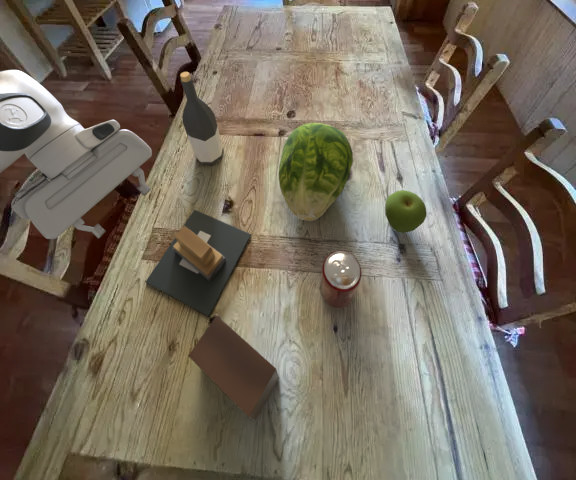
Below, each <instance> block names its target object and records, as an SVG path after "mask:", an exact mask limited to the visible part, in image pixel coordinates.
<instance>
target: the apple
mask: <svg viewBox="0 0 576 480" xmlns="http://www.w3.org/2000/svg"><path fill="white" fill-rule="evenodd" d="M384 209H385V217H386V220H387V222H388V225H389V227H391V229H392V230H393V231H395V232H397V233H399V234H407V233H410V232H414V231H415V230H416V229H418V228H419V227H420V226H421V225H422V224H424V223H425V220H426V218H427V207H426V204H425V202H424V201H423V199H422V198H421V197H420V196H419V195H418V194H416V193H415V192H413V191H410V190H405V189H402V190H396V191H394V192H393V193H392V194H390V195H388V196H387V199H386V200H385V208H384Z"/></svg>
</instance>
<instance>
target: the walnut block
mask: <svg viewBox="0 0 576 480" xmlns="http://www.w3.org/2000/svg"><path fill="white" fill-rule="evenodd" d="M187 356H188V358H189V359H190V360H191V361H193V362H194V363H195V365H196V366H197V367H198V368H199V369H200V370H202V372H203V373H204V374H205V375H206V376H207V377H208V378H209V379H210V380H211V381H212V382H213V383H214V384H215V385H216V386H217V388H219V389H220V390H221V391H222V392H223V393H224V394H225V395H226V396H227V397H228V398H229V399H230V400H231V401H232V402H233V403H234V404H235V405H236V406H237V407H238V409H240V410H241V411H242V412H243V413H244V414H245V416H247V417H248V418H249V419H252V420H253V421H256V422H257V420H258V419H259V416H260V414H261V413H262V411H263V409H264V407H265V405H266V403H268V400H269V398H270V396H271V395H272V393H273V391H274V389H275V387H276V386H277V384H278V382H279V380H280V375H279V373H278V369H277V368H276V367H275V365H273V364H272V363H270V361H268V359H266V358H265V357H264V356H263V355H262V354H261V353H260V352H258V351H257V350H256V349H255V348H254V347H253V346H251V345H250V343H248V341H246V340H245V339H244V338H243V337H242V336H240V334H238V333H237V332H236V331H235V330H234V329H233V328H232V327H231V326H229V325H228V324H227V323H226V322H225V321H224V320H223V319H221V318H220V317H219V316H218V315H216V316H215V318H214V319H213V320H212V322H211V323H210V325H209V326H208V327H207V328H206V330H205V331H204V333H203V334H202V336H201V337H200V338H199V339H198V341H197V342H196V344H195V345H194V347H193V348H192V349H191V351H190V352H189V354H188V355H187Z"/></svg>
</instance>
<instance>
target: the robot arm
mask: <svg viewBox="0 0 576 480" xmlns="http://www.w3.org/2000/svg"><path fill="white" fill-rule="evenodd" d="M23 155H24V156H25V157H26V158H27V160H29V161H30V163H32V164H33V165H34V167H35V168H37V169H38V170H39V172H40V173H41V174H39V176H37V177H36V178H35V179H34V178H33V180H32V181H31V182H30V183H28V185H26V186H24V187H23V188H21V189H19V190H18V191H17V192H15V194H14V198H13V199H12V201H11V204H10V207H11V210H12V211H13V212H14V213H15V214H16V215H17V216H18V217H19V218H21V219H22V220H30V222H31V223H32V224H33V226H34V228H36V229H37V231H38V232H39V233H40V234H41V235H42V236H43V238H45V239H47V240H56V239H57V238H59V237H60V236H61V235H62V234H64V233H65V231H67V230H68V229H69V228H70V227H72V226H73V227H74V228H75V229H76V230H78V231H83V232H89V233H92V234H93V235H94V236H95V237H96V238H97V239H100V238H101V237H102V236H103V235H104V234H105V233H106V232H107V231H106V230H105V229H104V228H103V227H102V226H101V225H100V224H99V223H97V224H95V225H94V226H90V225H85V221H84V220H83V218H82V217H83V216H85V215H86V213H87V212H89V211H90V210H91V209H92V208H93V207H95V206H96V205H97V204H98V203H99V202H100V201H102V200H103V199H104V198H106V196H107V195H109V194H110V193H111V192H112V191H113V190H114V189H115V188H117V187H118V186H119V185H120V184H122V182H124V181H125V180H126V179H127V178H128V177H129V176H131V175H132V176H133V177H134V178H137V179H138V184H139V185H138V187H137V188H136V191H138V192H140V194H141V196H146V195H147V194H148V193H150V192H151V190H152V189H151V187H150V186H149V185H148V184H147V183H146V178H145V172H144V170H143V169H142V168H141V166H142V165H143V164H145V163H146V162H147V161H148V160H149V159H150V158H152V155H153V150H152V148H151V147H150V145H148V143H147V142H146V141H144V140H143V139H142V138H140V136H138V135H137V134H136V133H135V132H133V131H131V130H130V129H124V128H123V129H121V125H120V123H119V122H118V121H117V120H115V119H110V120H107V121H106V120H105V121H104V122H101V123H98V124H95V125H93V126H90V127H87V128H84V127H83V126H82V124H81V123H80V122H78V121H77V120H76V119H73V118H72V117H71V116H69V115H68V113H67V112H66V110H65V109H64V107H63V105H62V103H61V102H60V101H59V100H58V99H57V98H56V97H55V96H54V95H53V94H52V93H51V92H50V91H48V89H47V88H45V87H44V86H43V85H42V84H40V83H39V81H37V80H36V79H35V78H33V77H32V76H30V75H28V74H27V73H26V72H24V71H21V70H19V69H6V70H0V174H1V173H2V172H4V171H6V169H8V168H9V167H10V166H11V165H12V164H13V163H15V162H16V161H17V160H19V159H20V158H21V157H22V156H23ZM17 199H18V200H17Z"/></svg>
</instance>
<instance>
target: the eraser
mask: <svg viewBox="0 0 576 480" xmlns="http://www.w3.org/2000/svg"><path fill="white" fill-rule="evenodd" d="M175 238H176V240H177V243H176V244H175V245H174V246H173V247H174V248H173V250H174V251H175V252H176V253H177V254H178V255H179V256H180V257H182V258H183V259H184V260H185V261H186V262H187V263H189V264H190V265H191V266H192V267H193V268H194V269H196V270H197V271H198V272H199V273H200V274H201V275H203V276H204V277H205V278H206V279H207V280H208V281H211V279H212V278H213V277H214V275H215V274H216V273H217V272H218V270H219V269H220V268H221V267H222V265H223V264H224V263H225V261H226V259H225V257H224V256H222V255H221V254H220V253H219V252H217V251H216V250H215V249H214V248H212V247H211V246H210V245H209V244H207V243H206V242H205V241H204V240H202V239H201V238H200V237H199V236H197V235H196V234H195V233H194V232H192V231H191V230H190V229H188V228H187V227H185V226H183V225H182V227H181V228H180V229H179V230H178V231H177V232H176V234H174V239H175Z"/></svg>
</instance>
